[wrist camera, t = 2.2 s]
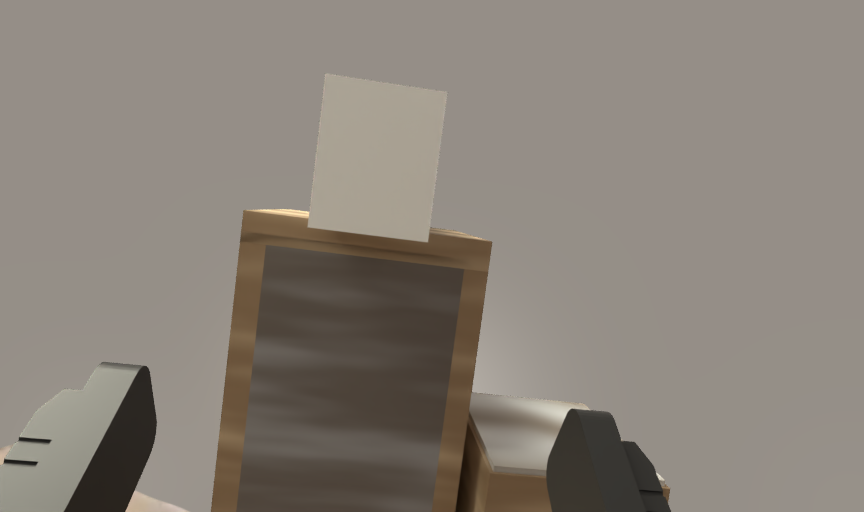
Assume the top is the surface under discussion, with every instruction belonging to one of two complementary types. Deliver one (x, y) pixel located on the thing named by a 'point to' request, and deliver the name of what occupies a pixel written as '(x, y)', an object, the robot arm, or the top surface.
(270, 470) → the step shelf
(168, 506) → the top surface
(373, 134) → the white long block
